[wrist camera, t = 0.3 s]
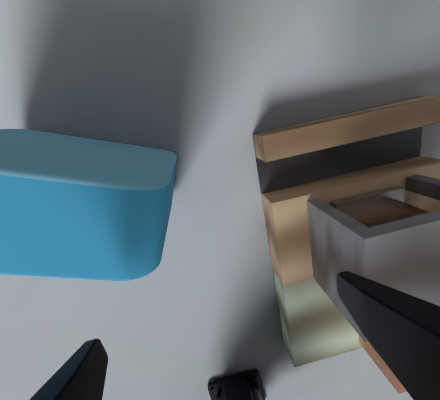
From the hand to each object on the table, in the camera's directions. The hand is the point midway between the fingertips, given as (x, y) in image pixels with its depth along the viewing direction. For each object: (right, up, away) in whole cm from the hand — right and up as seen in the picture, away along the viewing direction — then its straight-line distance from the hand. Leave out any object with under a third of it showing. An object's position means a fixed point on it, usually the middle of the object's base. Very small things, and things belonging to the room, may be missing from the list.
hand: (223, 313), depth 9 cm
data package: (-10, +7, +12) cm, 17 cm away
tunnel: (+13, 0, +17) cm, 21 cm away
